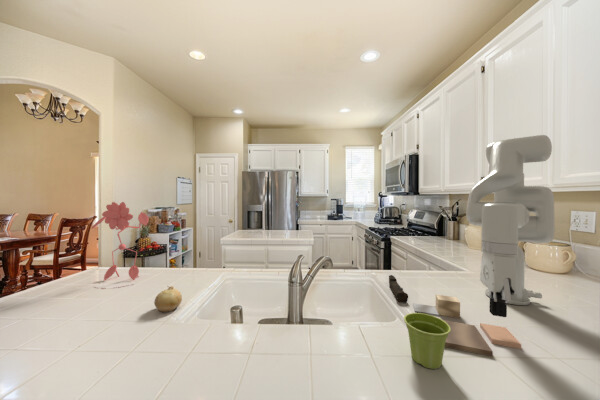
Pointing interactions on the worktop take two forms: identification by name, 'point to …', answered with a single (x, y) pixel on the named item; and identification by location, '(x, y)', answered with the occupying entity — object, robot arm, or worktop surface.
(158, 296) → the onion
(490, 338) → the tile
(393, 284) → the hand tool
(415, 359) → the plant pot
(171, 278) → the worktop surface
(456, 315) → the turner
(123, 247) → the figurine
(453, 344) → the board
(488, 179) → the robot arm
